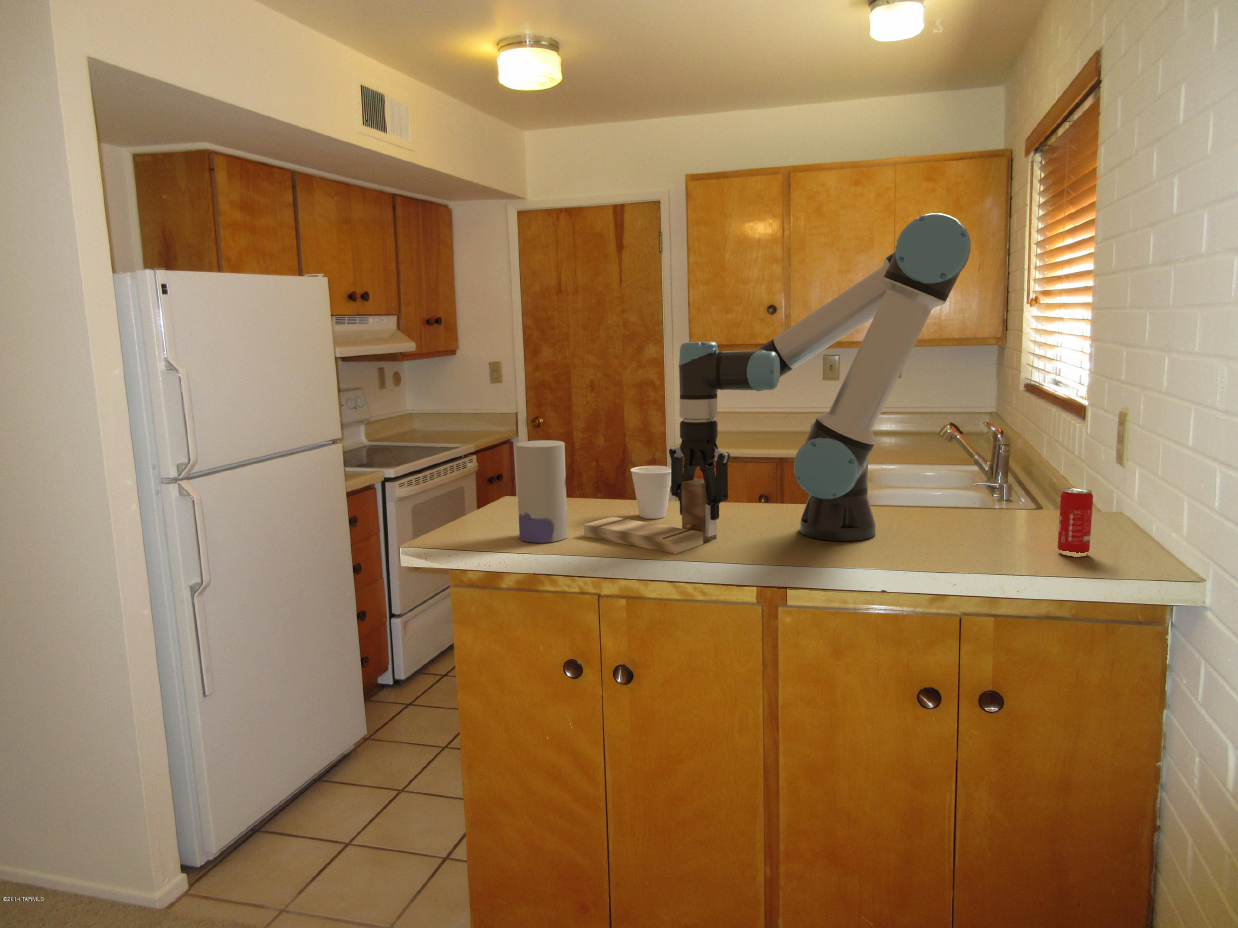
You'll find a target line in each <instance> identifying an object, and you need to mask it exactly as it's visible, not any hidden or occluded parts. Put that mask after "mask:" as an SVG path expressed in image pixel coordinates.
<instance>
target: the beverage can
mask: <svg viewBox="0 0 1238 928" xmlns="http://www.w3.org/2000/svg"><path fill="white" fill-rule="evenodd" d="M1059 503H1060V504H1059V516H1058V518H1059V521H1058V533H1057V534H1058V535H1057V550H1058V551H1059V550H1062V551H1069V552H1076V553H1079V552H1080V553H1085V552H1088V553H1089V551H1090V549H1091V548H1090V547H1091V533H1092V522H1093V521H1092V519H1093V506H1094V505H1093V503H1094V495H1093V491H1092V490H1091V489H1087V488H1082V487H1081V488H1080V487H1066V488H1063V489H1062V491H1061V493H1060V502H1059Z"/></svg>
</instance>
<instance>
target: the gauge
mask: <svg viewBox="0 0 1238 928" xmlns="http://www.w3.org/2000/svg"><path fill="white" fill-rule="evenodd" d="M708 502H709V501H708V496H707V492H706V483H705V482H704V478H696V477H694V479H693V480H689V481H683V482H682V515H681V528H682V529H688V530H689V529H691V530H694V531H700V532H703V544H705V543H708V542H711V541H713V540H716V539H717V536H718V535H717V534H718V533H717V531H718V530H717V527H718V526H717V523H716V534H715V535H712V536H709V537H707V536H706V514H705V505H706V504H707V503H708Z"/></svg>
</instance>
